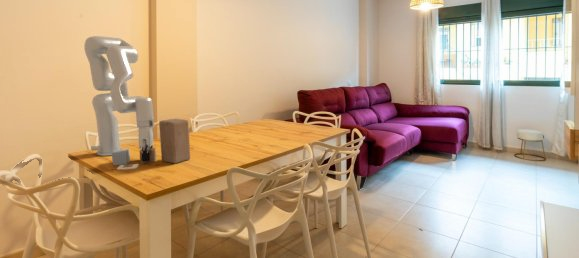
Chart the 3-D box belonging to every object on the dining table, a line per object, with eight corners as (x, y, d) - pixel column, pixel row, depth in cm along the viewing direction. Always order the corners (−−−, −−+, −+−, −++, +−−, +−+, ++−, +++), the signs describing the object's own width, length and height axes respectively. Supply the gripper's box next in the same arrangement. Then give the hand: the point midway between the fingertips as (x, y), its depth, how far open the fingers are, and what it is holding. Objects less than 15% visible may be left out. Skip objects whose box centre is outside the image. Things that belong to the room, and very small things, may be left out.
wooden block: (174, 164, 152) (171, 122, 148) (161, 161, 157) (158, 120, 154) (191, 159, 160) (189, 119, 157) (177, 156, 166) (175, 118, 162)
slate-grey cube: (113, 165, 151) (111, 152, 150) (116, 161, 157) (115, 149, 156) (126, 164, 152) (125, 152, 151) (130, 160, 158) (129, 149, 157)
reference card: (117, 169, 144) (117, 167, 144) (120, 166, 149) (120, 164, 149) (136, 168, 146) (136, 166, 146) (139, 165, 151) (138, 163, 150)
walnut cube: (140, 163, 153) (139, 151, 152) (143, 160, 159) (142, 148, 158) (153, 162, 155) (152, 150, 154) (156, 159, 160) (155, 147, 159)
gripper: (141, 121, 161) (143, 154, 164) (132, 127, 144) (135, 163, 148) (157, 120, 163) (159, 153, 166) (150, 126, 146) (153, 162, 149)
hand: (148, 158), depth 157 cm, fingers open, 9 cm apart
